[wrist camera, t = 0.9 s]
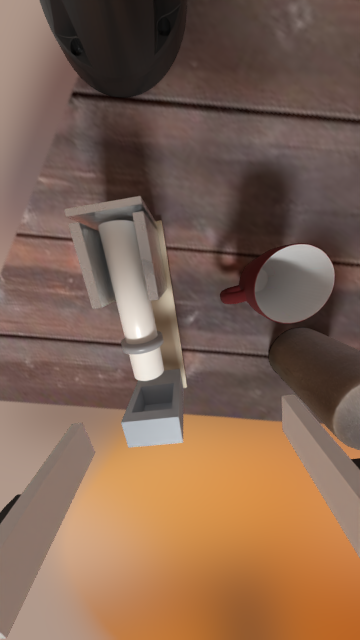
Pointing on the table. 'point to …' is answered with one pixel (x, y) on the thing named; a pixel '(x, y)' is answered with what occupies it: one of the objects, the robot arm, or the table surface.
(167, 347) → the base board
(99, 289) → the grey u-shaped bracket
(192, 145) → the table surface
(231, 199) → the table surface
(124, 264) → the slip tube
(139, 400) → the socket block
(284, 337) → the pillar candle
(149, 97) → the table surface
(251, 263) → the mug
